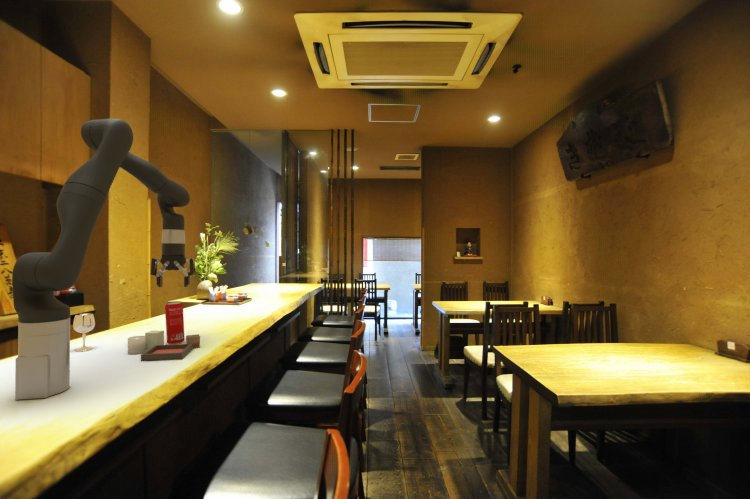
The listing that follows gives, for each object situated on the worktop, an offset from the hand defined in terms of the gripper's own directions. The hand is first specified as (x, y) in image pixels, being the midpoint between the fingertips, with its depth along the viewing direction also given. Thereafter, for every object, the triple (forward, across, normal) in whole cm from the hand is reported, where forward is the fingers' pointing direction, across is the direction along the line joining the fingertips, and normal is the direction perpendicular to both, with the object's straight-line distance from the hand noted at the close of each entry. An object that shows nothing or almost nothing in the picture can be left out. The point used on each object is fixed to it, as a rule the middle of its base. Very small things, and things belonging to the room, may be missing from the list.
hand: (173, 286), depth 134 cm
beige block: (+20, -8, -11) cm, 25 cm away
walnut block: (+21, +8, -8) cm, 24 cm away
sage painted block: (+20, -4, -8) cm, 22 cm away
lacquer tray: (+20, +3, -16) cm, 26 cm away
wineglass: (+21, -26, -4) cm, 34 cm away
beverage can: (+21, +1, 0) cm, 21 cm away
